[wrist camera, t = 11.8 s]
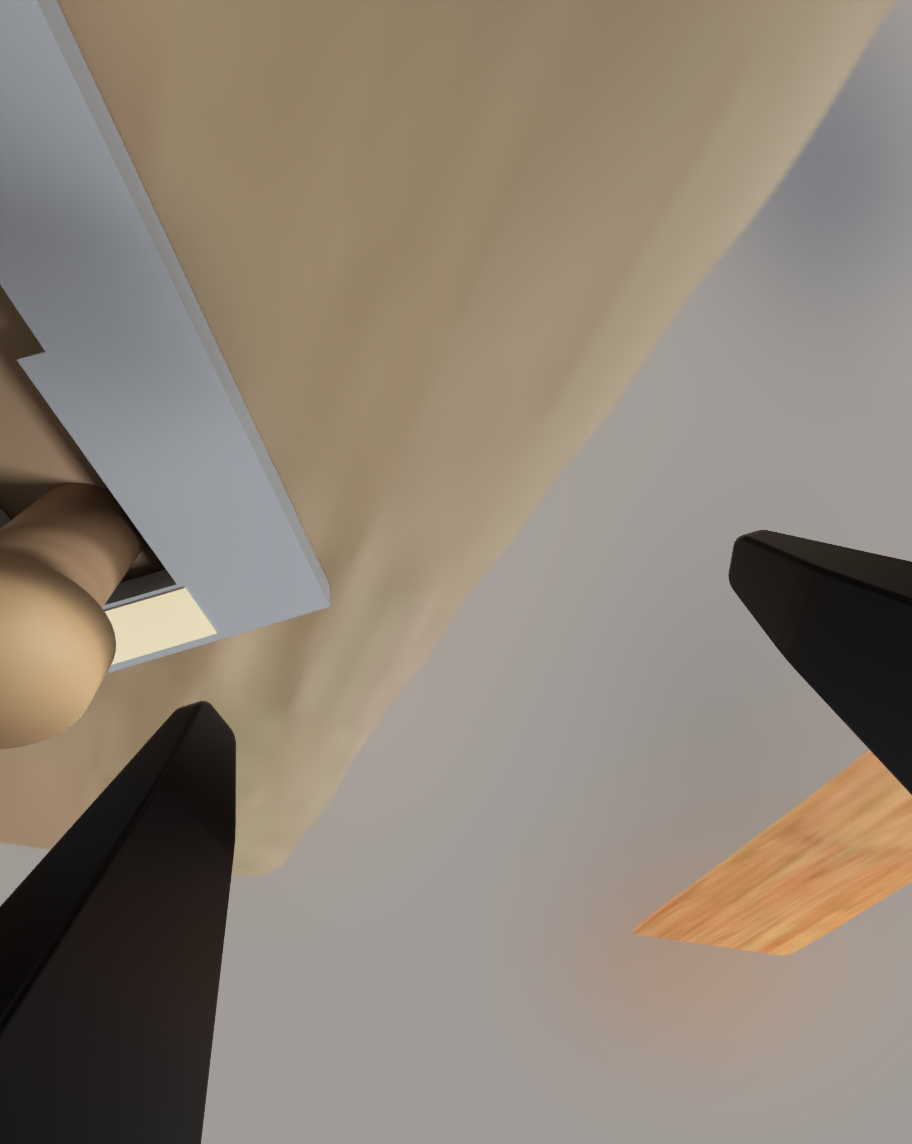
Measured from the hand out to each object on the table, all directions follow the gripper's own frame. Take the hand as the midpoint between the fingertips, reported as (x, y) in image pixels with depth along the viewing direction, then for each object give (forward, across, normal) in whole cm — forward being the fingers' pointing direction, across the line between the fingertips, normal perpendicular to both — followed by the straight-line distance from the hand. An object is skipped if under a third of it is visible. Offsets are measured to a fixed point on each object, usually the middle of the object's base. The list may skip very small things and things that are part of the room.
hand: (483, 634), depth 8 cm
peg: (+12, +12, 0) cm, 17 cm away
